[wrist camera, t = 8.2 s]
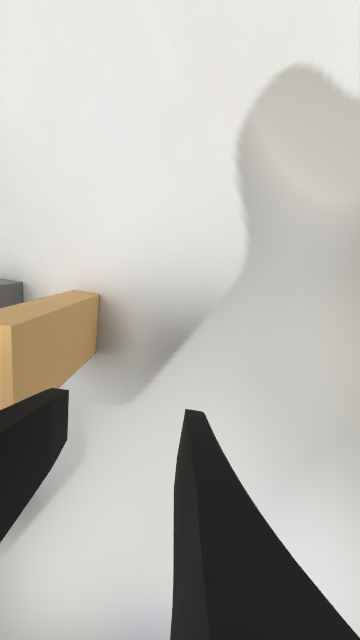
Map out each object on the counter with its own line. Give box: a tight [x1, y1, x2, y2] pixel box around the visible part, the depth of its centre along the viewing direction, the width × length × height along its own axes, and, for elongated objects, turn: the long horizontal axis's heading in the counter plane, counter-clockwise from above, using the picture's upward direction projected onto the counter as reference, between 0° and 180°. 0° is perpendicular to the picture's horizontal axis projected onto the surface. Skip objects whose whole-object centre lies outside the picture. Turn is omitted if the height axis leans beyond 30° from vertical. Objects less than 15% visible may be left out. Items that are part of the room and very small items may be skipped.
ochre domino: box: [0, 290, 99, 410], centre depth 14 cm, size 5×2×9 cm, turn 171°
